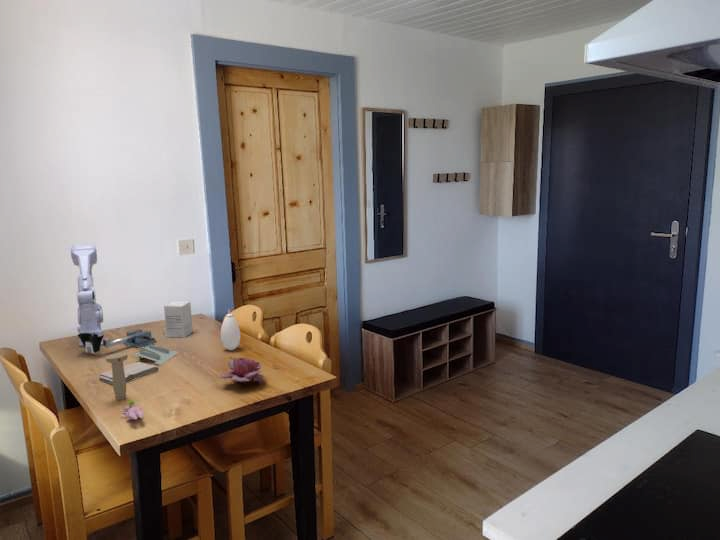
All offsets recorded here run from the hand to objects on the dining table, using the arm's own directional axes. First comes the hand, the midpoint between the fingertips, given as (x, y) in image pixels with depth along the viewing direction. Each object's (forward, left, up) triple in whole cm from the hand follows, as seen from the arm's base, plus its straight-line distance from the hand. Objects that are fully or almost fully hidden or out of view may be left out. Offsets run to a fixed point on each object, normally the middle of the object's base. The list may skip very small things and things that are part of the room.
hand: (92, 350), depth 223 cm
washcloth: (+34, -8, -3) cm, 35 cm away
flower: (+78, +6, -2) cm, 78 cm away
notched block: (0, 0, -1) cm, 1 cm away
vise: (+7, +13, -2) cm, 15 cm away
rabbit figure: (+66, -30, -2) cm, 73 cm away
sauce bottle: (+47, +32, -2) cm, 57 cm away
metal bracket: (+27, +9, -3) cm, 29 cm away
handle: (+50, -23, -2) cm, 55 cm away
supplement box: (+10, +37, -2) cm, 38 cm away
